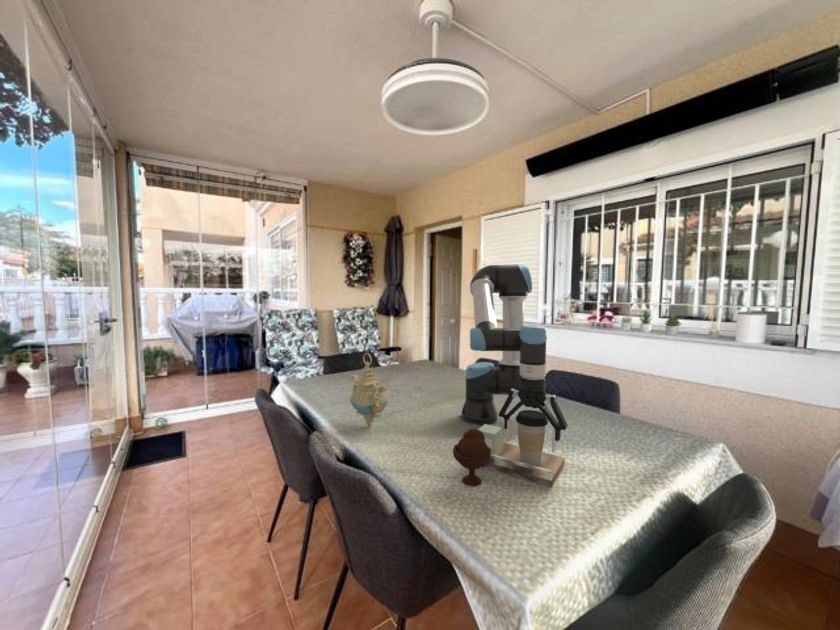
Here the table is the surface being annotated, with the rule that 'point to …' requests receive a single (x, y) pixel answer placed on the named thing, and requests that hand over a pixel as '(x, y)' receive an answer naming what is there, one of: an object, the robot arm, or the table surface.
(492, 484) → the table surface
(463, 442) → the ice cream bowl
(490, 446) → the pale green box
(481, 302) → the robot arm
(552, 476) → the shelf board
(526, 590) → the table surface
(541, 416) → the coffee cup
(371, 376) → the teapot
